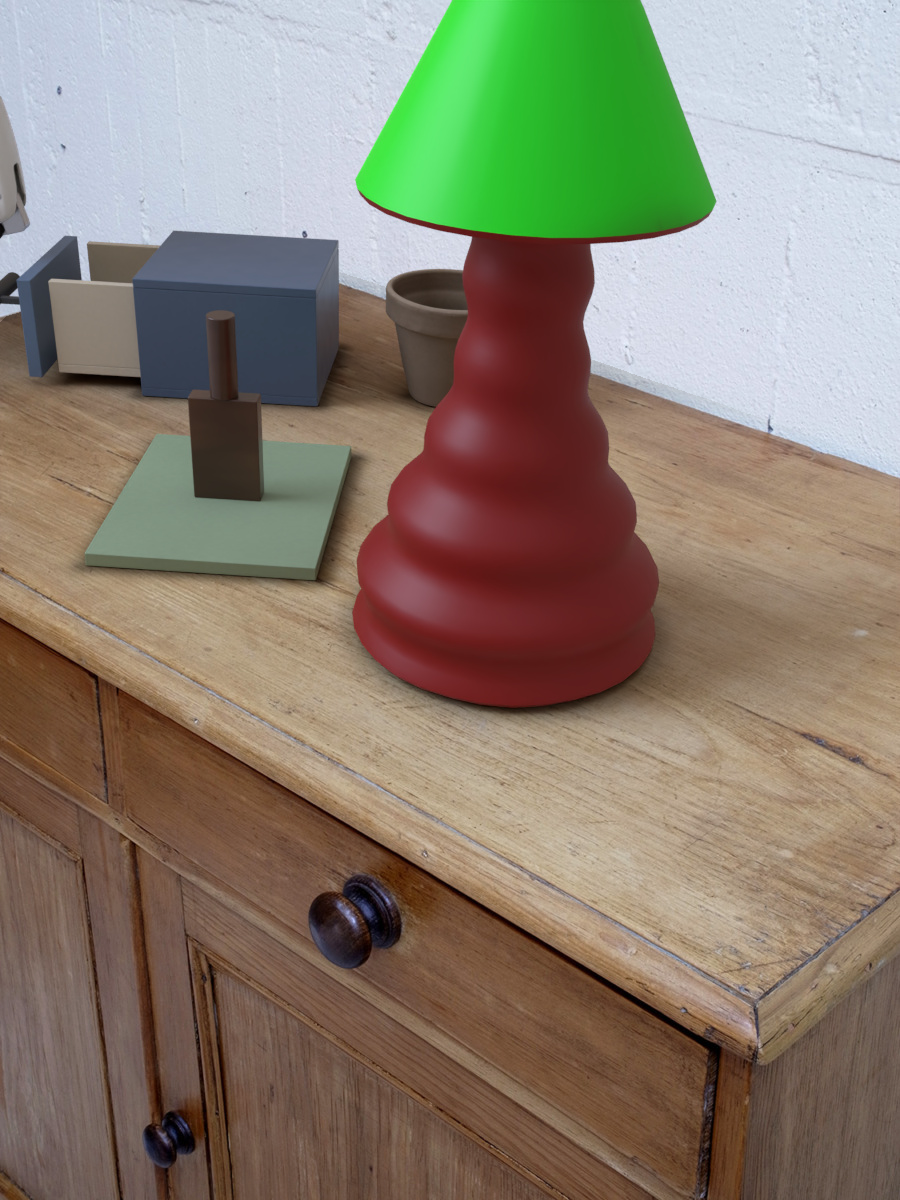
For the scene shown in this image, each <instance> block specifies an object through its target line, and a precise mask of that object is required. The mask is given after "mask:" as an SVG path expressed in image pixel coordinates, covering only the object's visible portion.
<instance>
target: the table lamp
mask: <svg viewBox="0 0 900 1200" xmlns="http://www.w3.org/2000/svg"><path fill="white" fill-rule="evenodd" d="M354 181H355V185H356V190H357V191H358V194H359V195H360V197H361V198H362V199H363V200H364V201H365V202H366V203H367V204H368V205H370V206H371V207H373V208H375V209H376V210H378V211H380V212H382V213H383V214H385V215H386V216H390V217H393V218H395V219H398V220H400V221H403V222H406V223H409V224H412V225H414V226H415V225H416V226H419V227H424V228H427V229H431V230H435V231H438V232H444V233H450V234H455V235H460V236H465V237H470V238H471V241H470V244H469V247H468V250H467V253H466V257H465V260H464V264H463V268H462V270H463V274H462V278H463V287H464V292H465V296H466V301H467V306H468V317H467V321H466V323H465V326H464V328H463V330H462V333H461V335H460V337H459V339H458V342H457V345H456V349H455V353H454V382H453V386H452V387H451V389H450V391H449V392H448V393H447V395H446V396H445V397H444V398H443V399H442V400H441V402H440V403H439V404H438V405H437V407H434V409H433V410H432V412H431V414H430V416H429V417H428V419H427V423H426V427H425V431H424V435H423V449H422V451H421V452H420V453H419V454H418V455H417V456H415V457H414V458H413V459H412V460H411V461H410V462H408V463H407V464H406V465H405V466H404V467H402V469H401V470H400V472H399V473H398V474H397V475H396V477H395V478H394V480H393V481H392V483H391V484H390V488H389V491H388V496H387V501H386V507H387V515H386V516H385V517H383V518H382V519H381V520H380V521H378V522H377V523H376V524H375V525H373V527H372V528H371V530H370V531H369V533H368V534H367V536H365V539H364V540H363V541H362V543H361V544H360V547H359V549H358V553H357V557H356V572H357V582H358V585H359V587H360V590H359V591H358V593H357V595H356V598H355V601H354V604H353V608H352V611H351V612H352V613H351V615H352V623H353V629H354V631H355V633H356V635H357V637H358V639H359V641H360V643H361V645H362V646H363V647H364V648H365V650H366V651H367V652H368V653H369V654H370V656H371V657H372V658H373V659H374V661H376V662H377V663H378V664H380V665H381V666H382V667H383V668H384V669H386V670H387V671H388V672H390V673H391V674H392V675H394V676H395V677H396V678H397V679H398V680H399V679H400V680H402V681H404V682H405V683H408V684H410V685H412V686H414V687H416V688H419V689H421V690H423V691H427V692H430V693H433V694H436V695H438V696H442V697H446V698H448V699H453V700H458V701H462V702H467V703H472V704H475V705H480V706H491V707H499V708H500V707H501V708H510V709H516V708H531V707H532V708H533V707H545V706H551V705H557V704H561V703H567V702H572V701H576V700H579V699H584V698H587V697H589V696H594V695H597V694H600V693H602V692H604V691H607V690H608V689H611V688H613V687H614V686H615V687H616V686H617V685H619V684H621V683H622V682H624V681H625V680H626V679H628V677H630V676H631V675H632V674H633V673H635V672H636V671H638V669H640V667H642V665H644V663H645V661H646V659H647V658H648V656H649V655H650V653H651V652H652V649H653V646H654V642H655V639H656V622H655V617H654V614H653V612H652V608H653V607H654V605H655V601H656V599H657V593H658V591H659V586H660V577H659V568H658V566H657V563H656V561H655V560H654V558H653V555H652V554H651V551H650V549H649V548H648V545H647V544H646V543H645V542H644V541H643V540H642V538H641V537H639V535H638V534H637V533H636V532H635V530H636V526H637V523H638V513H637V512H638V511H637V502H636V500H635V498H634V497H633V494H632V492H631V490H630V488H629V486H628V485H627V483H626V482H625V480H624V479H623V478H622V477H621V476H620V475H619V474H618V473H617V472H616V471H615V469H613V468H612V467H611V465H610V463H609V455H610V440H609V439H610V438H609V431H608V429H607V426H606V423H605V421H604V420H603V418H602V416H601V415H600V413H599V411H598V409H597V408H596V407H595V405H594V404H593V402H592V400H591V398H590V395H589V384H590V379H591V377H590V376H591V370H592V357H591V351H590V347H589V343H588V338H587V335H586V332H585V326H584V321H585V316H586V311H587V309H588V307H589V304H590V301H591V299H592V296H593V293H594V288H595V284H596V283H595V281H596V279H595V278H596V277H595V267H594V259H593V256H592V249H591V246H592V245H598V244H613V243H614V244H615V243H616V244H617V243H626V242H627V243H628V242H634V241H642V240H651V239H656V238H660V237H665V236H669V235H673V234H678V233H680V232H683V231H686V230H688V229H691V228H693V227H696V226H698V225H700V223H702V222H703V221H705V220H706V219H708V218H709V217H710V215H711V214H712V212H713V211H714V209H715V206H716V205H717V199H716V195H715V193H714V191H713V188H712V184H711V182H710V179H709V177H708V175H707V172H706V169H705V166H704V164H703V161H702V158H701V156H700V153H699V151H698V148H697V145H696V142H695V139H694V137H693V135H692V132H691V129H690V126H689V124H688V121H687V119H686V116H685V113H684V110H683V108H682V105H681V102H680V100H679V97H678V94H677V91H676V90H675V87H674V84H673V81H672V79H671V76H670V73H669V71H668V68H667V65H666V62H665V59H664V57H663V55H662V52H661V48H660V47H659V44H658V42H657V38H656V36H655V34H654V30H653V29H652V26H651V22H650V20H649V17H648V15H647V12H646V9H645V7H644V4H643V2H642V0H451V1H450V3H449V5H448V6H447V8H446V10H445V13H444V14H443V16H442V18H441V20H440V22H439V23H438V25H437V27H436V29H435V31H434V33H433V35H432V37H431V38H430V40H429V42H428V44H427V46H426V47H425V50H424V51H423V53H422V55H421V57H420V59H419V61H418V62H417V65H416V66H415V68H414V70H413V72H412V73H411V75H410V77H409V79H408V80H407V82H406V84H405V87H404V88H403V90H402V92H401V94H400V95H399V97H398V99H397V101H396V103H395V105H394V107H393V108H392V111H391V112H390V114H389V116H388V118H387V119H386V122H385V123H384V125H383V127H382V129H381V131H380V132H379V135H378V136H377V137H376V140H375V142H374V144H373V145H372V148H371V149H370V151H369V153H368V154H367V157H366V159H365V160H364V162H363V164H362V166H361V168H360V169H359V171H358V173H357V175H356V176H355V179H354Z"/></svg>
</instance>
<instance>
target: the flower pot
mask: <svg viewBox="0 0 900 1200" xmlns="http://www.w3.org/2000/svg"><path fill="white" fill-rule="evenodd" d="M462 274H463V269H454V268H453V269H452V268H427V269H426V268H425V269H416V270H411V271H406V272H404V273H400V274H398V275H395V276H393V277H391V279H389V280H388V282H387V283H386V285H385V313H386V315H387V317H388V318H389V319H390V320H391V321H392V322H393V323H394V326H395V327H394V328H395V331H396V337H397V342H398V347H399V348H398V349H399V354H400V359H401V363H402V369H403V372H404V377H405V381H406V386H407V389H408V393H409V395H410V396H411V398H413V399H414V400H415V401H417V402H418V403H421V404H423V405H426V406H430V407H432V408H433V407H434V408H436V407H437V405H438V404H439V403H440V402H441V400H442V399H443V398H444V397H445V396H446V395H447V393H448V392H449V391H450V389H451V387H452V386H453V382H454V353H455V349H456V345H457V342H458V339H459V337H460V335H461V333H462V330H463V328H464V326H465V323H466V321H467V317H468V306H467V301H466V296H465V292H464V287H463V278H462Z"/></svg>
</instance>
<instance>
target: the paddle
mask: <svg viewBox="0 0 900 1200" xmlns="http://www.w3.org/2000/svg"><path fill="white" fill-rule="evenodd" d="M206 330H207V347H208V364H209V382H210V391H209V390H192V392H191V393H190V395H189V397H188V398H187V409H188V421H189V422H188V423H189V436H190V439H191V454H192V469H193V483H194V496H195V497H201V498H216V499H232V500H247V501H261V499H262V496H263V494H264V469H263V441H262V440H263V419H262V417H263V416H262V403H261V394H258V393H241V392H238V373H237V351H236V330H235V315H234V313H232V312H230V311H225V310H217V311H211V312H209V313H207V314H206Z"/></svg>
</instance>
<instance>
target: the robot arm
mask: <svg viewBox="0 0 900 1200" xmlns="http://www.w3.org/2000/svg"><path fill="white" fill-rule="evenodd" d="M24 177H25V176H24V172H23V167H22V161H21V158H20V152H19V149H18V144H17V140H16V136H15V132H14V129H13V126H12V123H11V120H10V117H9V114H8V111H7V108H6V105H5V103H4V100H3V98H2V96H1V95H0V239H2V238H3V237H4V236H6V235H7V236H9V235H13V234H14V235H15V234H18V233H22V232H25V231H26V230H27V229H28V228H30V225H31V221H30V219H29V215H28V213H27V210H26V208H25V206H26V203H27V190H26V183H25V178H24Z"/></svg>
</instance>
